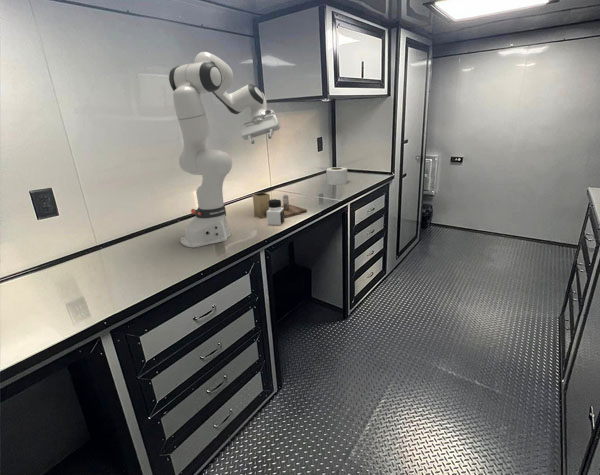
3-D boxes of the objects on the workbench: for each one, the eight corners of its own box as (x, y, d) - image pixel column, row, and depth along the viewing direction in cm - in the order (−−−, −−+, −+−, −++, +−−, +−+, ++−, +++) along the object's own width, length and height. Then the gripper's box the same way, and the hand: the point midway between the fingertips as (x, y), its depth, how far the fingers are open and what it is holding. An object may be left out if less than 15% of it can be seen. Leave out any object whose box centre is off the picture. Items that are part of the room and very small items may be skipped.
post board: (283, 218, 179) (282, 199, 175) (266, 212, 191) (264, 195, 187) (306, 212, 188) (306, 194, 185) (288, 206, 200) (288, 190, 197)
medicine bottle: (281, 225, 169) (279, 201, 164) (267, 225, 170) (265, 201, 166) (284, 220, 175) (283, 198, 171) (271, 220, 177) (269, 197, 172)
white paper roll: (332, 186, 248) (331, 171, 245) (323, 182, 262) (322, 168, 258) (350, 183, 254) (351, 168, 250) (341, 180, 267) (341, 166, 263)
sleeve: (262, 219, 180) (260, 196, 176) (253, 215, 186) (251, 194, 182) (272, 216, 184) (270, 194, 180) (263, 213, 190) (261, 192, 185)
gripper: (238, 120, 176) (239, 142, 170) (275, 108, 171) (277, 130, 165) (243, 128, 181) (245, 149, 176) (280, 117, 176) (282, 138, 171)
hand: (261, 140), depth 170 cm, fingers open, 8 cm apart
